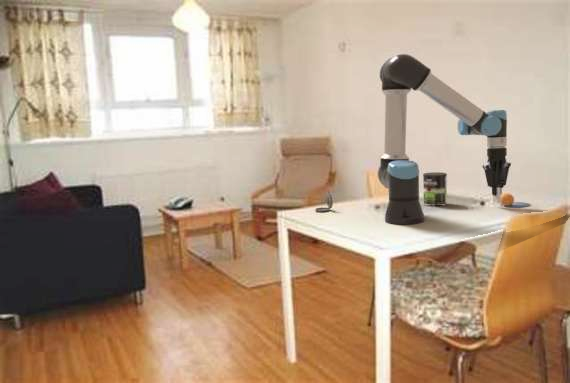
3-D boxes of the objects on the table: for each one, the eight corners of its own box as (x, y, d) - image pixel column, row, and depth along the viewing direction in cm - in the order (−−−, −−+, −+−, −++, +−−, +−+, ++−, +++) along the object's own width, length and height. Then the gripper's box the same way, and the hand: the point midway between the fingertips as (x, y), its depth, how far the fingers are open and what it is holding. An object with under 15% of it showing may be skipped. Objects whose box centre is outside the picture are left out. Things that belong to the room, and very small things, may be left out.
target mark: (522, 208, 203) (522, 207, 203) (494, 205, 212) (494, 205, 212) (535, 204, 211) (535, 203, 211) (508, 201, 220) (508, 201, 220)
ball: (515, 193, 206) (517, 205, 207) (509, 190, 212) (511, 202, 213) (502, 196, 207) (504, 208, 208) (497, 193, 212) (499, 205, 213)
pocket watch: (312, 211, 224) (311, 190, 223) (324, 208, 230) (323, 187, 229) (326, 213, 219) (325, 191, 217) (337, 210, 224) (336, 188, 223)
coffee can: (439, 207, 217) (438, 175, 215) (419, 205, 224) (418, 174, 222) (451, 203, 223) (451, 172, 221) (431, 201, 231) (431, 171, 229)
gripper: (490, 148, 199) (490, 205, 203) (516, 146, 203) (515, 202, 207) (477, 148, 206) (478, 203, 210) (502, 145, 210) (502, 199, 214)
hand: (496, 202), depth 208 cm, fingers closed
